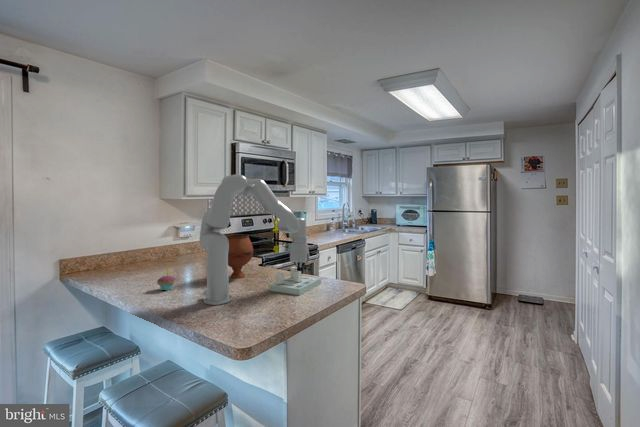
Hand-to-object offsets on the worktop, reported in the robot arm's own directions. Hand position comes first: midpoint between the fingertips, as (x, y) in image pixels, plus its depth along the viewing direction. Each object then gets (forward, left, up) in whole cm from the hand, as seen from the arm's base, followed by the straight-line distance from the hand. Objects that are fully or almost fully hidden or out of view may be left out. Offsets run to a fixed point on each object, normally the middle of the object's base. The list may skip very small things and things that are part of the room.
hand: (300, 274), depth 179 cm
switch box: (+2, -7, -5) cm, 9 cm away
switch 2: (-4, 0, -2) cm, 4 cm away
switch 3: (+3, -7, -2) cm, 8 cm away
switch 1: (-3, -15, -2) cm, 15 cm away
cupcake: (-57, -39, -5) cm, 70 cm away
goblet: (-41, -3, -5) cm, 42 cm away
